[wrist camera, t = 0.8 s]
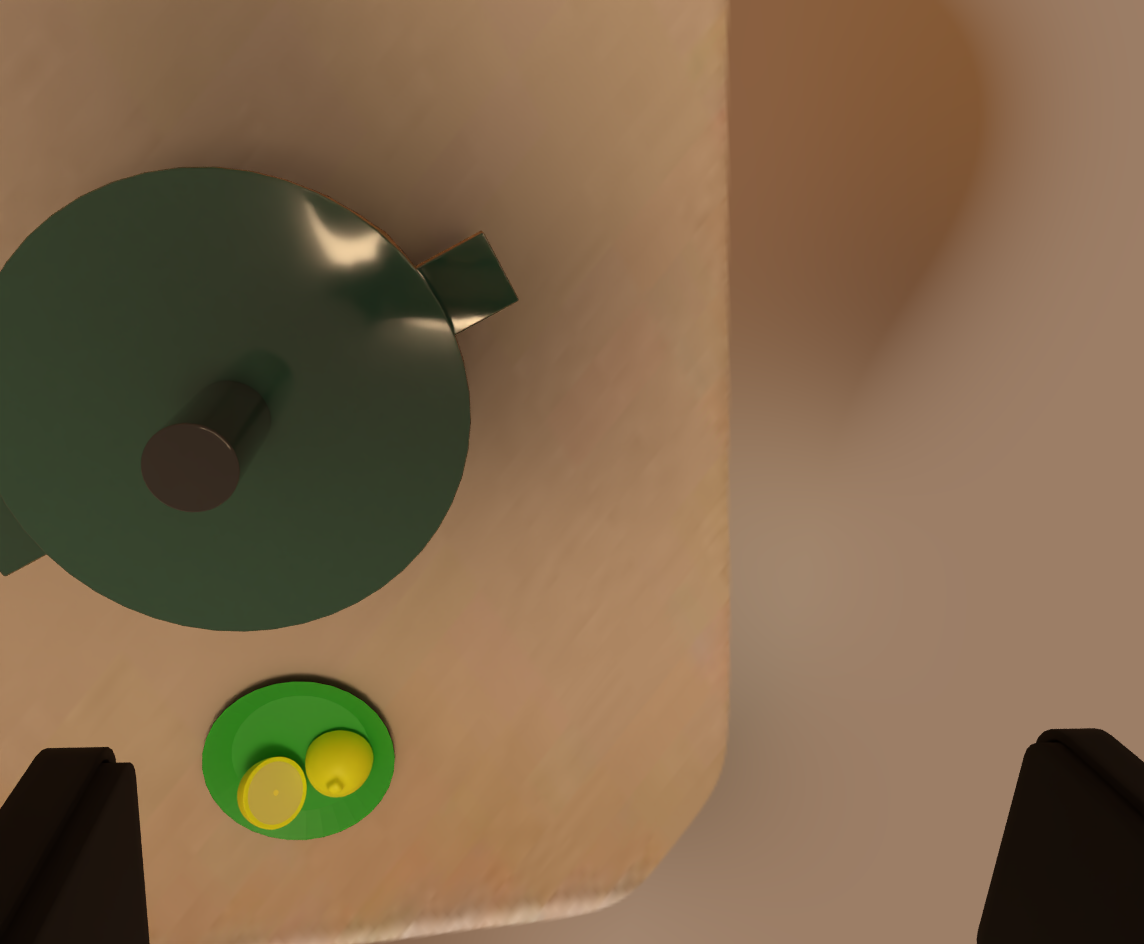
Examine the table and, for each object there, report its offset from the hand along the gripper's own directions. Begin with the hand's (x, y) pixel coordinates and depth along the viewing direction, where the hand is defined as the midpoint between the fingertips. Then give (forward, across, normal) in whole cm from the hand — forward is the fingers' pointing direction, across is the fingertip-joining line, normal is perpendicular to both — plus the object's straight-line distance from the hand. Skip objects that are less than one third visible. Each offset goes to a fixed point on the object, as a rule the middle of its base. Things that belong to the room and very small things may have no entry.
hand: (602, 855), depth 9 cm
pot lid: (+21, +8, +1) cm, 23 cm away
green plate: (+28, +7, +18) cm, 34 cm away
